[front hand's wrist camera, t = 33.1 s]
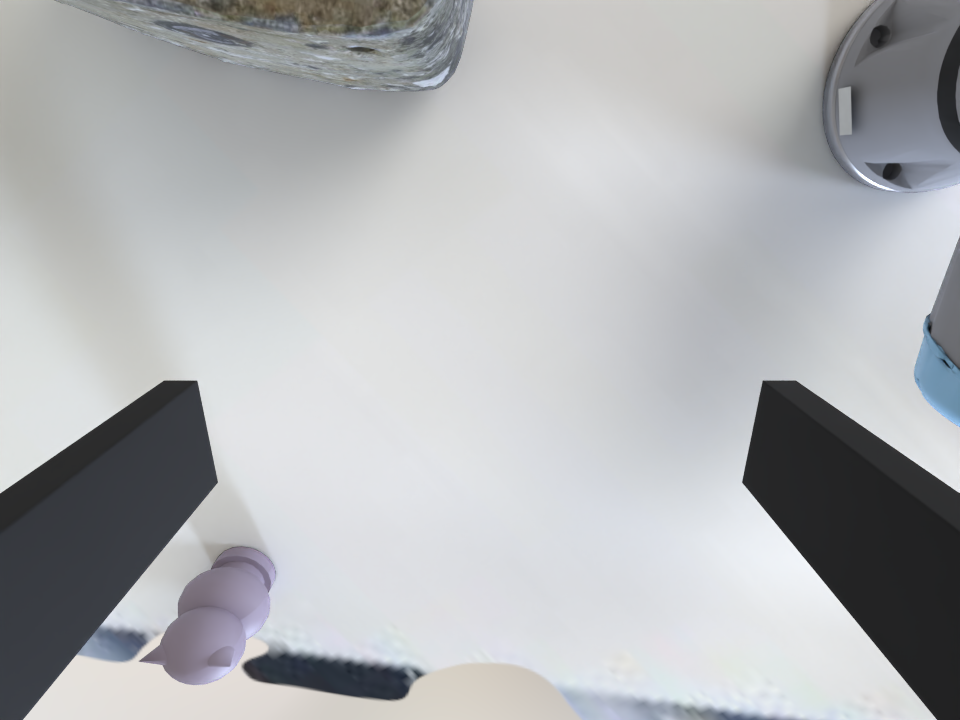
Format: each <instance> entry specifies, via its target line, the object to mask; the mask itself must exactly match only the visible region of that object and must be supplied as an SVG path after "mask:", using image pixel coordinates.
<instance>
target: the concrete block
mask: <svg viewBox="0 0 960 720" xmlns="http://www.w3.org/2000/svg"><path fill="white" fill-rule="evenodd" d="M55 1H58V2H60V3H64V4H68V5H71V6H73V7H76V8H79V9H81V10H84V11H86V12H89V13H92V14H94V15H97V16H99V17H102V18H105V19H107V20H110V21H112V22H114V23H117V24H119V25H122V26H124V27H127V28H129V29H132V30H135V31H138V32H141V33H142V34H145V35H149V36H152V37H154V38H157V39H160V40H163V41H166V42H169V43H172V44H175V45H178V46H180V47H184V48H187V49H190V50H193V51H196V52H199V53H202V54H205V55H208V56H211V57H214V58H217V59H220V60H222V61H223V62H229V63H232V64H237V65H243V66H247V67H253V68H258V69H262V70H267V71H272V72H277V73H281V74H286V75H290V76H295V77H300V78H305V79H310V80H315V81H320V82H325V83H330V84H334V85H338V86H343V87H347V88H351V89H361V90H364V89H368V90H381V91H424V90H433V89H436V88H439V87H440V86H442V85H443V84H444V83H446V82H447V81H448V79H449V78H450V77H451V76H452V75H453V74H454V72H455V70H456V68H457V65H458V63H459V60H460V57H461V54H462V50H463V47H464V42H465V38H466V33H467V29H468V24H469V20H470V15H471V11H472V6H473V0H55Z"/></svg>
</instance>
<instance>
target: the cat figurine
mask: <svg viewBox="0 0 960 720" xmlns="http://www.w3.org/2000/svg"><path fill="white" fill-rule="evenodd" d="M275 574H276V571H275V568H274V565H273V563H272V562H271V561H270V560H269V558H268V557H267V556H265V555H264V554H263V553H261V552H260V551H257V550H255V549H252V548H247V547H234V548H231V549H228V550H226V551H224V552H223V553H222V554H221V555H220V556H219V557H218V558H217V560H216V561H215V563H214V564H213V566H212V568H211V570H209V571H206V572H204V573H201V574H200V575H198V576H197V577H196V578H194V579H193V580H192V581H191V582H189V583H188V584H187V586H186V587H185V589H184V591H183V593H182V595H181V596H180V598H179V602H178V618H177V619H176V620H175V621H174V622H172V623H171V624H170V626H169V627H168V628H167V630H166V632H165V634H164V636H163V638H162V640H161V643H160V645H159V646H158V647H157V648H155V649H154V650H153V651H151V652H150V653H149V654H148V655H146V656H145V657H144V658H142V659H141V660H140V661H139V662H146V663H153V664H160V665H163V667H164V669H165V671H166V672H167V673H168V674H169V675H170V676H171V677H172V678H174V679H175V680H177V681H179V682H182V683H185V684H191V685H201V684H207V683H211V682H214V681H216V680H219V679H221V678H222V677H223V676H225V675H226V674H228V673H229V672H230V671H231V670H233V669H234V668H235V666H236V665H237V663H238V662H239V660H240V659H241V657H242V655H243V653H244V650H245V645H246V640H247V639H249V638H250V637H251V636H253V635H254V634H255V633H257V632H258V631H259V630H260V629H261V627H262V626H263V624H264V622H265V621H266V619H267V617H268V615H269V610H270V597H269V594H268V592H269V590H270V588H271V586H272V584H273V582H274V580H275Z"/></svg>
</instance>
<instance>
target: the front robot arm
mask: <svg viewBox="0 0 960 720" xmlns="http://www.w3.org/2000/svg"><path fill="white" fill-rule="evenodd" d="M823 121H824V128H825V134H826V137H827V141H828V144H829V146H830V148H831V151H832V153H833V154H834V156H835V158H836V160H837V161H838V162H839V164H840V165H841V166H842V168H843V169H844V170H845V171H846V172H847V173H848V174H850V175H851V176H852V177H853V178H855V179H856V180H858V181H859V182H861V183H863V184H865V185H867V186H870V187H873V188H876V189H880V190H885V191H894V192H925V191H931V190H937V189H942V188H947V187H950V186H953V185H956V184H959V183H960V0H876V1H874V2H873V3H872V4H871V5H870V6H869V7H868V8H867V9H866V10H865V12H864V13H863V14H862V15H861V16H860V17H859V18H858V20H857V21H856V22H855V23H854V25H853V26H852V27H851V29H850V30H849V32H848V33H847V35H846V36H845V38H844V40H843V42H842V43H841V45H840V47H839V49H838V51H837V53H836V55H835V58H834V60H833V63H832V65H831V68H830V71H829V74H828V78H827V81H826V86H825V91H824V100H823ZM923 332H924V338H923V341H922V345H921V348H920V351H919V355H918V358H917V361H916V365H915V369H914V376H915V382H916V383H917V385H918V387H919V389H920V390H921V392H922V395H923V397H924V398H925V399H926V400H927V402H928V403H929V404H930V405H931V406H932V407H933V408H934V409H936V410H937V411H938V412H939V413H940V414H942V415H943V416H944V417H946V418H947V419H948V420H950V421H951V422H953V423H954V424H956V425H957V426H959V427H960V237H959V240H958V243H957V245H956V248H955V250H954V253H953V256H952V258H951V261H950V264H949V266H948V269H947V272H946V274H945V277H944V280H943V282H942V285H941V288H940V290H939V293H938V296H937V298H936V301H935V304H934V306H933V309H932V312H931V313H930V314H929V315H928V316H927V317H926V319H925V321H924V324H923ZM217 483H218V481H217V476H216V471H215V466H214V461H213V456H212V451H211V446H210V441H209V437H208V432H207V427H206V422H205V417H204V412H203V407H202V402H201V397H200V392H199V387H198V382H197V381H163V382H162V383H160V384H159V385H157V386H156V387H154V388H153V389H151V390H150V391H148V392H147V393H146V394H144V395H143V396H141V397H140V398H138V399H137V400H135V401H134V402H132V403H131V404H130V405H128V406H127V407H125V408H124V409H122V410H121V411H119V412H118V413H117V414H115V415H114V416H112V417H111V418H109V419H108V420H106V421H105V422H103V423H102V424H101V425H99V426H98V427H96V428H95V429H93V430H92V431H90V432H89V433H87V434H86V435H85V436H83V437H82V438H80V439H79V440H77V441H76V442H74V443H73V444H71V445H70V446H69V447H67V448H66V449H64V450H63V451H61V452H60V453H58V454H57V455H56V456H54V457H53V458H51V459H50V460H48V461H47V462H45V463H44V464H42V465H41V466H40V467H38V468H37V469H35V470H34V471H32V472H31V473H29V474H28V475H26V476H25V477H24V478H22V479H21V480H19V481H18V482H16V483H15V484H13V485H12V486H10V487H9V488H8V489H6V490H5V491H3V492H2V493H0V720H23V719H24V718H25V716H26V715H27V714H28V713H29V712H30V710H31V709H32V708H33V707H34V705H35V704H36V703H37V702H38V701H39V699H40V698H41V697H42V696H43V695H44V693H45V692H46V691H47V690H48V688H49V687H50V686H51V685H52V684H53V682H54V681H55V680H56V679H57V677H58V676H59V675H60V674H61V673H62V671H63V670H64V669H65V668H66V667H67V665H68V664H69V663H70V662H71V660H72V659H73V658H74V657H75V656H76V654H77V653H78V652H79V651H80V650H81V648H82V647H83V646H84V645H85V643H86V642H87V641H88V640H89V639H90V637H91V636H92V635H93V634H94V632H95V631H96V630H97V629H98V628H99V626H100V625H101V624H102V623H103V622H104V620H105V619H106V618H107V617H108V615H109V614H110V613H111V612H112V611H113V609H114V608H115V607H116V606H117V604H118V603H119V602H120V601H121V600H122V598H123V597H124V596H125V595H126V594H127V592H128V591H129V590H130V589H131V587H132V586H133V585H134V584H135V583H136V581H137V580H138V579H139V578H140V576H141V575H142V574H143V573H144V572H145V570H146V569H147V568H148V567H149V566H150V564H151V563H152V562H153V561H154V559H155V558H156V557H157V556H158V555H159V553H160V552H161V551H162V550H163V548H164V547H165V546H166V545H167V544H168V542H169V541H170V540H171V539H172V538H173V536H174V535H175V534H176V533H177V531H178V530H179V529H180V528H181V527H182V525H183V524H184V523H185V522H186V520H187V519H188V518H189V517H190V516H191V514H192V513H193V512H194V511H195V510H196V508H197V507H198V506H199V505H200V503H201V502H202V501H203V500H204V499H205V497H206V496H207V495H208V494H209V492H210V491H211V490H212V489H213V488H214V486H215V485H216V484H217ZM742 483H743V484H744V485H745V486H746V488H747V489H748V490H749V491H750V492H751V494H752V495H753V496H754V497H755V499H756V500H757V501H758V502H759V503H760V505H761V506H762V507H763V508H764V510H765V511H766V512H767V513H768V514H769V516H770V517H771V518H772V519H773V520H774V522H775V523H776V524H777V525H778V527H779V528H780V529H781V530H782V531H783V533H784V534H785V535H786V536H787V538H788V539H789V540H790V541H791V542H792V544H793V545H794V546H795V547H796V548H797V550H798V551H799V552H800V553H801V555H802V556H803V557H804V558H805V559H806V561H807V562H808V563H809V564H810V566H811V567H812V568H813V569H814V570H815V572H816V573H817V574H818V575H819V576H820V578H821V579H822V580H823V581H824V583H825V584H826V585H827V586H828V587H829V589H830V590H831V591H832V592H833V594H834V595H835V596H836V597H837V598H838V600H839V601H840V602H841V603H842V604H843V606H844V607H845V608H846V609H847V611H848V612H849V613H850V614H851V615H852V617H853V618H854V619H855V620H856V622H857V623H858V624H859V625H860V626H861V628H862V629H863V630H864V631H865V632H866V634H867V635H868V636H869V637H870V639H871V640H872V641H873V642H874V643H875V645H876V646H877V647H878V648H879V650H880V651H881V652H882V653H883V654H884V656H885V657H886V658H887V659H888V660H889V662H890V663H891V664H892V665H893V667H894V668H895V669H896V670H897V671H898V673H899V674H900V675H901V676H902V678H903V679H904V680H905V681H906V682H907V684H908V685H909V686H910V687H911V688H912V690H913V691H914V692H915V693H916V695H917V696H918V697H919V698H920V699H921V701H922V702H923V703H924V704H925V706H926V707H927V708H928V709H929V710H930V712H931V713H932V714H933V715H934V716H935V718H936V719H937V720H960V493H958V492H957V491H955V490H954V489H952V488H951V487H950V486H948V485H947V484H945V483H944V482H942V481H941V480H939V479H938V478H936V477H935V476H934V475H932V474H931V473H929V472H928V471H926V470H925V469H923V468H922V467H920V466H919V465H918V464H916V463H915V462H913V461H912V460H910V459H909V458H907V457H906V456H904V455H903V454H902V453H900V452H899V451H897V450H896V449H894V448H893V447H891V446H890V445H889V444H887V443H886V442H884V441H883V440H881V439H880V438H878V437H877V436H875V435H874V434H873V433H871V432H870V431H868V430H867V429H865V428H864V427H862V426H861V425H859V424H858V423H857V422H855V421H854V420H852V419H851V418H849V417H848V416H846V415H845V414H843V413H842V412H841V411H839V410H838V409H836V408H835V407H833V406H832V405H830V404H829V403H828V402H826V401H825V400H823V399H822V398H820V397H819V396H817V395H816V394H814V393H813V392H812V391H810V390H809V389H807V388H806V387H804V386H803V385H801V384H800V383H798V382H797V381H763V382H762V387H761V392H760V397H759V402H758V407H757V412H756V417H755V422H754V427H753V432H752V437H751V441H750V446H749V451H748V456H747V461H746V466H745V471H744V476H743V481H742Z"/></svg>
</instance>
